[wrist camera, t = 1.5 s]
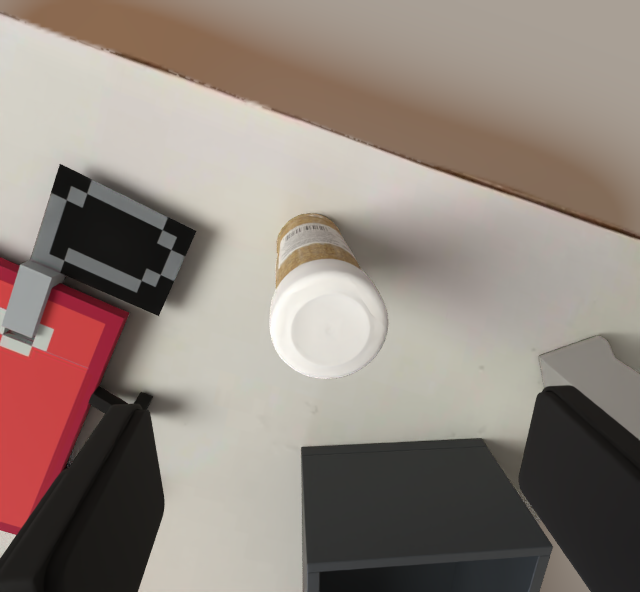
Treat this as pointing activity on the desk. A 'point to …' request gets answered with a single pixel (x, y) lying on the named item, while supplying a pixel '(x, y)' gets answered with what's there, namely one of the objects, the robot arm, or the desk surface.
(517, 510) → the wastebin
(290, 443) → the desk surface
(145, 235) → the red board with handle
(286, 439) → the desk surface
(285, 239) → the sprinkles bottle
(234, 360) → the desk surface
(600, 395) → the vintage mobile phone
